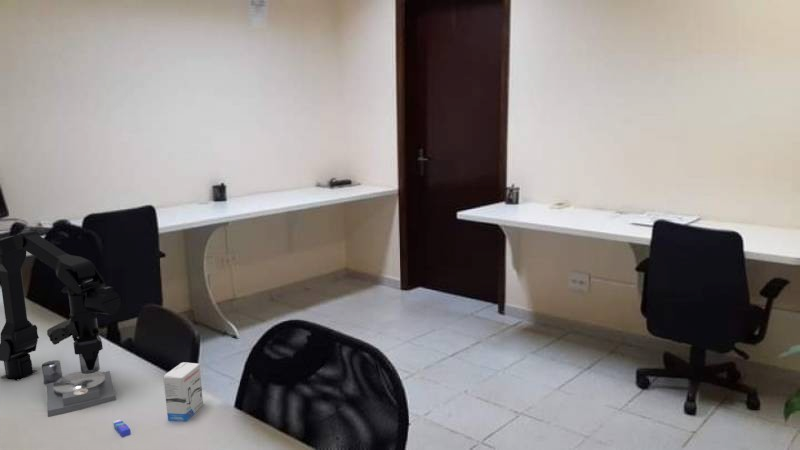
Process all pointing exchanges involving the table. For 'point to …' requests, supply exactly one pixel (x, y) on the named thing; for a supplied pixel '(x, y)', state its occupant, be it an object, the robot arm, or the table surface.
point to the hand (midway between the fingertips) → (90, 366)
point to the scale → (80, 397)
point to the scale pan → (78, 382)
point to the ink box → (183, 391)
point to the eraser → (121, 428)
